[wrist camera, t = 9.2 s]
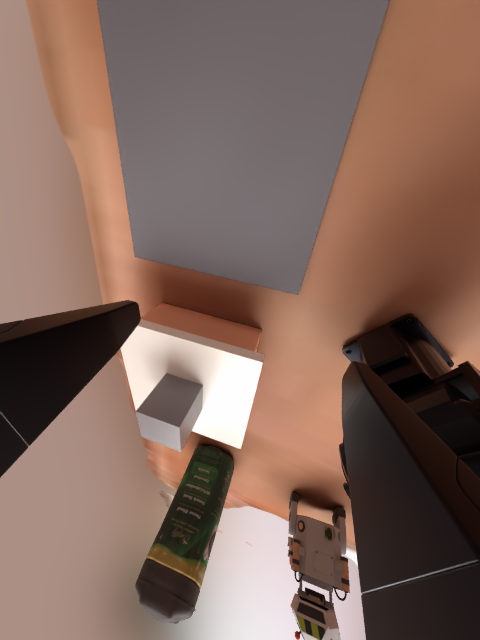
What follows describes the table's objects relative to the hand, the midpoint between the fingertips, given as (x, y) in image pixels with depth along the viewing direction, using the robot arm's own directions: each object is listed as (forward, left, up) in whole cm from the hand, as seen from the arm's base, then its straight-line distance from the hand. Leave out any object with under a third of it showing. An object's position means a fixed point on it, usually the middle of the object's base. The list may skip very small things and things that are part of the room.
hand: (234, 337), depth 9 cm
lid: (-3, +14, -7) cm, 16 cm away
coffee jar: (-20, +34, -12) cm, 41 cm away
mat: (+9, -3, -12) cm, 15 cm away
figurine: (-39, +26, -12) cm, 48 cm away
